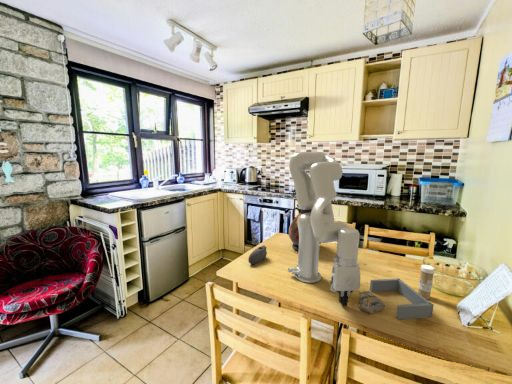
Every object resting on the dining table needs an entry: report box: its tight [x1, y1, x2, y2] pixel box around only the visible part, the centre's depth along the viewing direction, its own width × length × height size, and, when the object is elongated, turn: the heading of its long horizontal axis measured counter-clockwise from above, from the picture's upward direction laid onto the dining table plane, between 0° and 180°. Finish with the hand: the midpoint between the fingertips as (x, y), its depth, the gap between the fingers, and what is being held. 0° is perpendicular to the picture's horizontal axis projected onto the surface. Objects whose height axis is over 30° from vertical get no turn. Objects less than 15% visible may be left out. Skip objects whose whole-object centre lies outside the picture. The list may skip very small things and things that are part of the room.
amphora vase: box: [288, 203, 322, 253], centre depth 147 cm, size 22×22×28 cm
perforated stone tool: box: [248, 245, 268, 265], centre depth 131 cm, size 15×5×7 cm, turn 141°
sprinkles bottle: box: [417, 264, 436, 300], centre depth 100 cm, size 5×5×14 cm
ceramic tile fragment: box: [358, 290, 387, 315], centre depth 95 cm, size 12×3×10 cm
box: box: [369, 278, 435, 320], centre depth 96 cm, size 13×18×5 cm
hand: (343, 303), depth 94 cm, fingers closed
